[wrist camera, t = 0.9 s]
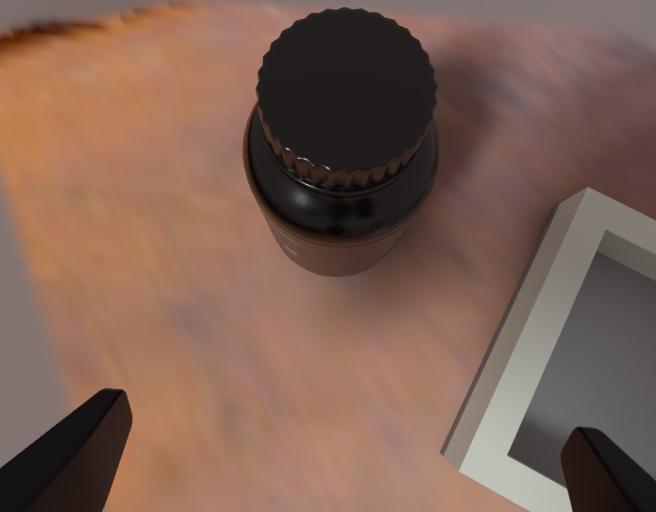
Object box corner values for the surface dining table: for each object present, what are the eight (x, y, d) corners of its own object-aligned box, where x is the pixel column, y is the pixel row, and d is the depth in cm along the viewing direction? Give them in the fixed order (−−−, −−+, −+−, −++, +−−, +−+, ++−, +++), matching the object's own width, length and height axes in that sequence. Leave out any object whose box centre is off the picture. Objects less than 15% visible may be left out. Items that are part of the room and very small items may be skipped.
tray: (718, 609, 20) (786, 657, 17) (439, 452, 21) (458, 471, 18) (809, 333, 22) (884, 333, 19) (554, 206, 23) (587, 186, 20)
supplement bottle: (244, 207, 23) (162, 71, 11) (342, 130, 24) (359, -71, 12) (328, 305, 22) (332, 268, 10) (426, 221, 23) (533, 99, 11)
